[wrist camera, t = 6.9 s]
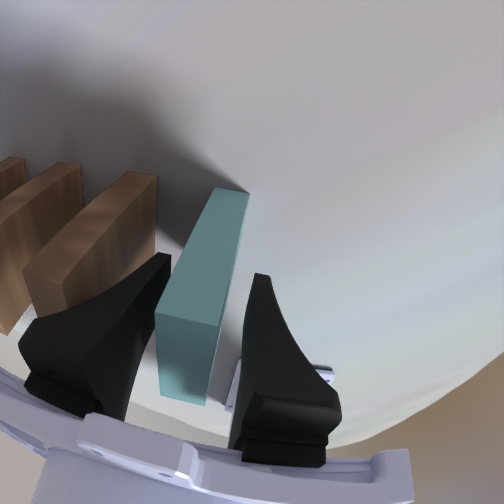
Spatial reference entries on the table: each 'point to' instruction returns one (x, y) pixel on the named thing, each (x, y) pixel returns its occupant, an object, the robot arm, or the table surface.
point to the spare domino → (198, 299)
